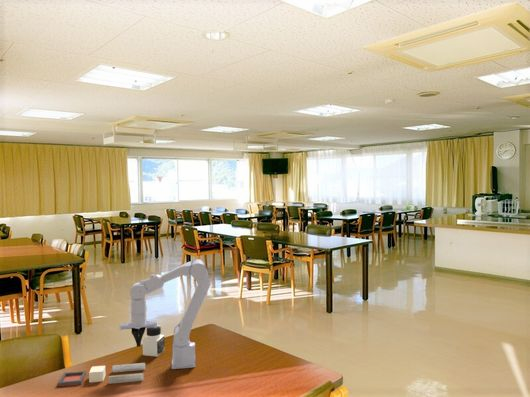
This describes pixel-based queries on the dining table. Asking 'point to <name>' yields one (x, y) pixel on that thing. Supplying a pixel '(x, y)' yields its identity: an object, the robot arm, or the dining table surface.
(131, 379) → the channel
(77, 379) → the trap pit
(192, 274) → the robot arm
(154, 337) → the medicine bottle
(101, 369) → the block
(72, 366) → the dining table surface
